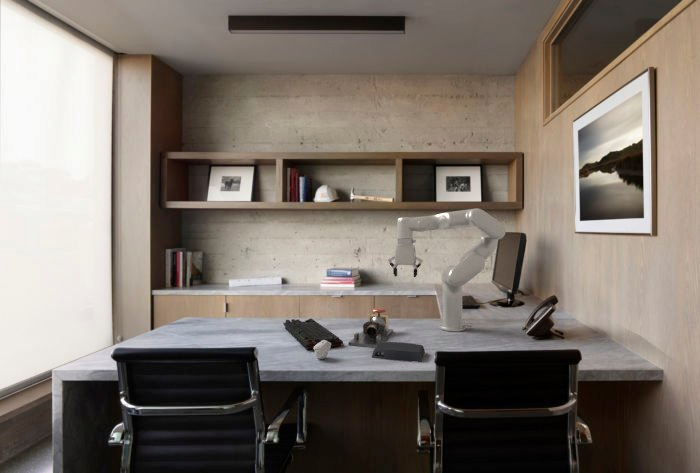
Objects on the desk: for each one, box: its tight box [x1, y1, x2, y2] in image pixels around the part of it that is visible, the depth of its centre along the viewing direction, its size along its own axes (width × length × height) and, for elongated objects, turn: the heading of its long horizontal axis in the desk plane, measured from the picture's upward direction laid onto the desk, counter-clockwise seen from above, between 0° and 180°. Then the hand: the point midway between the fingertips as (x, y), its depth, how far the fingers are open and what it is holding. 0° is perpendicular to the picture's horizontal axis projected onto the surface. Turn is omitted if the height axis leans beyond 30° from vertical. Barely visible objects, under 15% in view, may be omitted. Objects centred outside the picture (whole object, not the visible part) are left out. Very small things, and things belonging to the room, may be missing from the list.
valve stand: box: [348, 307, 394, 349], centre depth 182 cm, size 13×29×11 cm, turn 160°
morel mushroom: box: [362, 320, 378, 337], centre depth 179 cm, size 18×7×6 cm, turn 174°
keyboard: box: [282, 318, 344, 352], centre depth 185 cm, size 42×16×5 cm, turn 22°
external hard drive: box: [371, 341, 426, 363], centre depth 157 cm, size 13×19×4 cm
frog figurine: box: [313, 340, 331, 360], centre depth 153 cm, size 6×7×7 cm
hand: (405, 276), depth 197 cm, fingers open, 9 cm apart
